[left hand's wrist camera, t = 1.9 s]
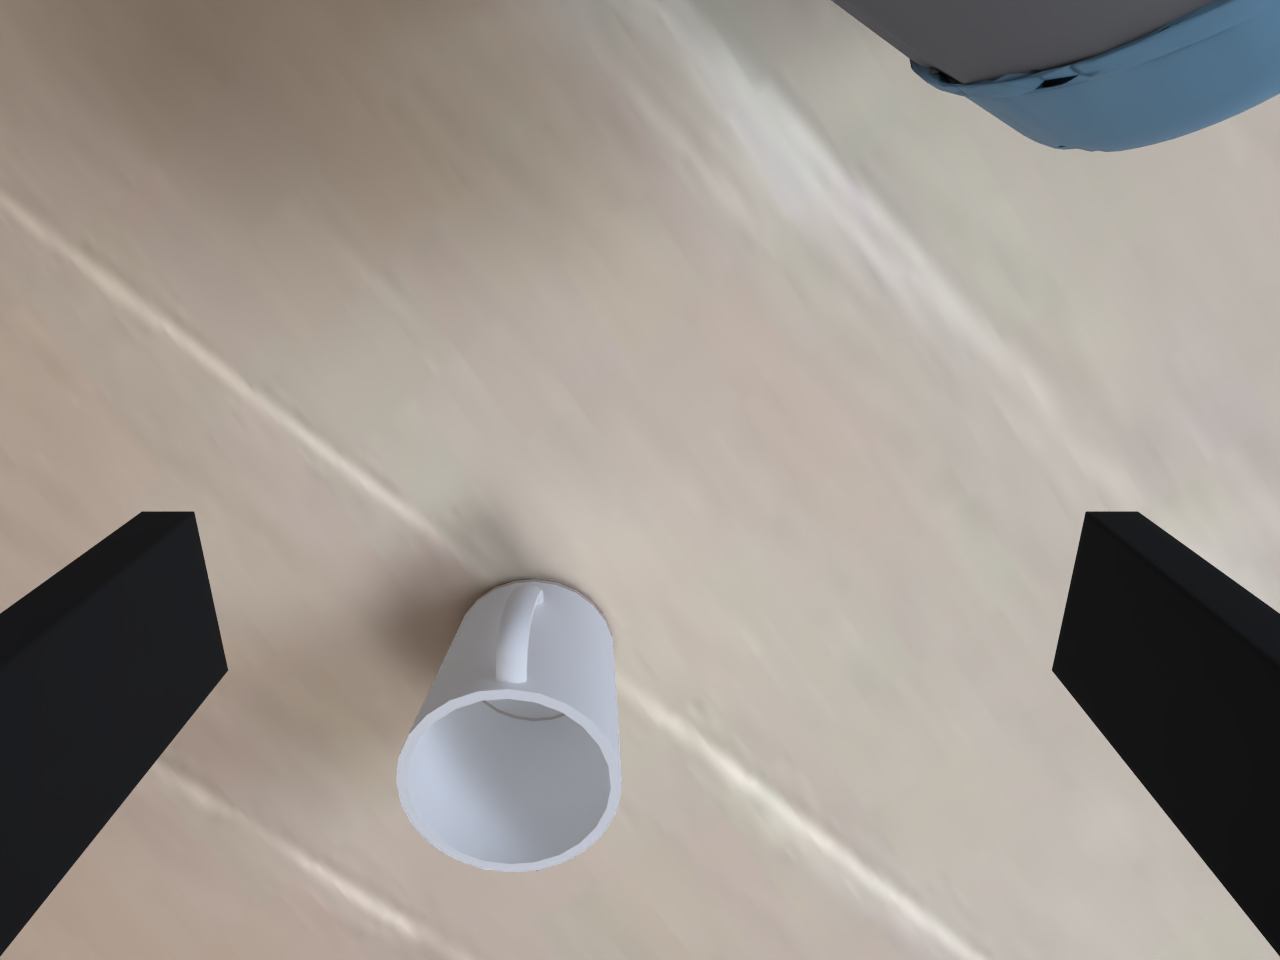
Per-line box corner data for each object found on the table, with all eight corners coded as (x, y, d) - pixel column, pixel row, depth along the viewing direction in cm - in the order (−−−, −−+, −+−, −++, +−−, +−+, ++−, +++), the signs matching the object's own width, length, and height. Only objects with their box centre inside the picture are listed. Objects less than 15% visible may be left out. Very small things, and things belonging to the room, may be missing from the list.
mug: (619, 722, 44) (617, 875, 35) (450, 717, 44) (401, 869, 34) (628, 534, 41) (629, 645, 31) (444, 526, 40) (387, 637, 31)
